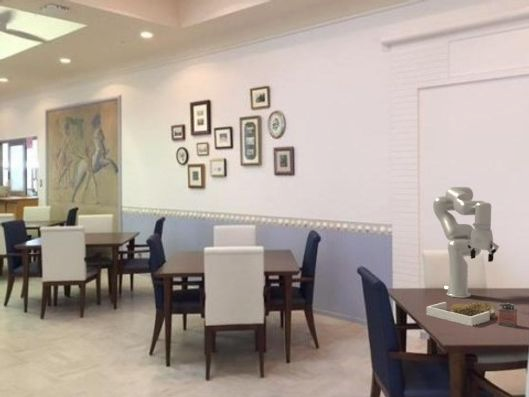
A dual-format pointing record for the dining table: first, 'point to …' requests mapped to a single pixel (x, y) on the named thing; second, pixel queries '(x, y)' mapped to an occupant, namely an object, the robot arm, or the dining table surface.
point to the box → (456, 315)
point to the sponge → (473, 309)
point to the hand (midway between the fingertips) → (481, 259)
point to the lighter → (507, 315)
